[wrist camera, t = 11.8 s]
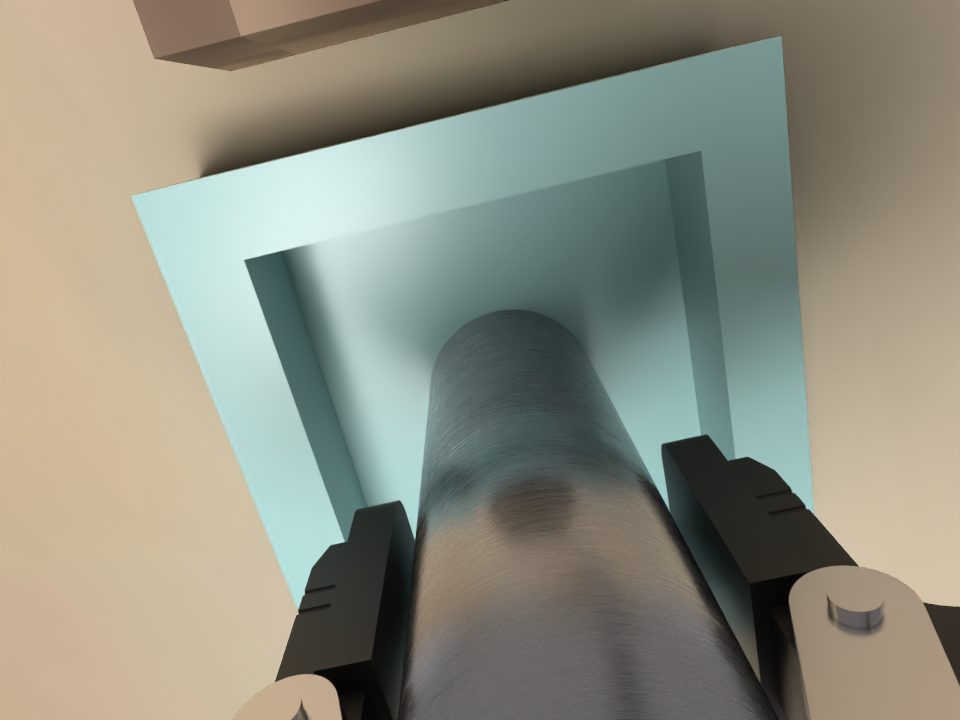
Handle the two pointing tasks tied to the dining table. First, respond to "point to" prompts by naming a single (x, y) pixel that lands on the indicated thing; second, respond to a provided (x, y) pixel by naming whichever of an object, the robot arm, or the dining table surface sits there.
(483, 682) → the pin
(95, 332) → the dining table surface
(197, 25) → the holder
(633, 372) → the tray
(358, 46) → the dining table surface
